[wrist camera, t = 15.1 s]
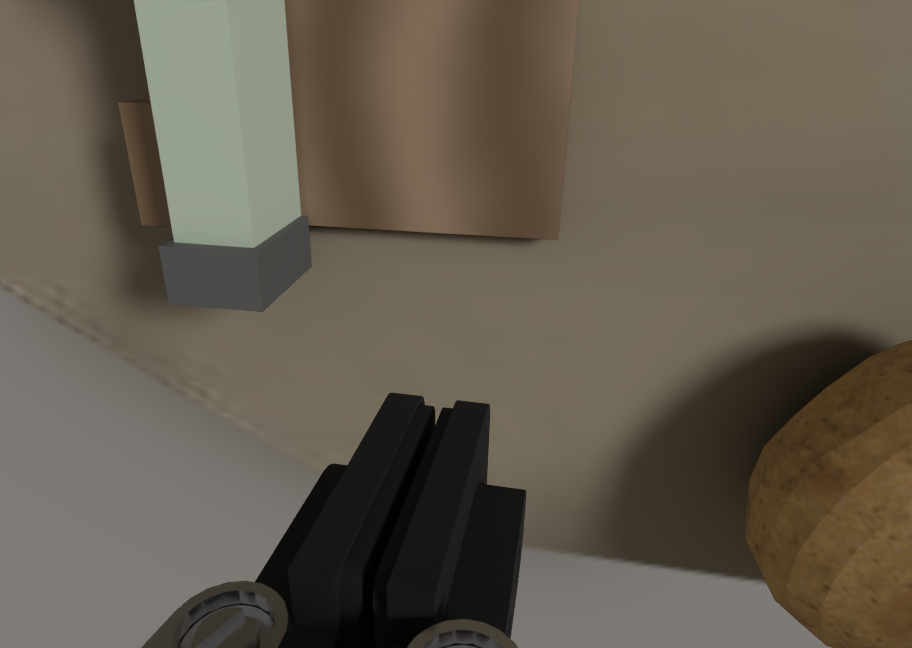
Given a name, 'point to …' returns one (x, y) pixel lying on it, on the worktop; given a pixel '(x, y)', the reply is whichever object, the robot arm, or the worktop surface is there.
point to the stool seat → (415, 116)
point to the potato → (842, 508)
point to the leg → (225, 150)
